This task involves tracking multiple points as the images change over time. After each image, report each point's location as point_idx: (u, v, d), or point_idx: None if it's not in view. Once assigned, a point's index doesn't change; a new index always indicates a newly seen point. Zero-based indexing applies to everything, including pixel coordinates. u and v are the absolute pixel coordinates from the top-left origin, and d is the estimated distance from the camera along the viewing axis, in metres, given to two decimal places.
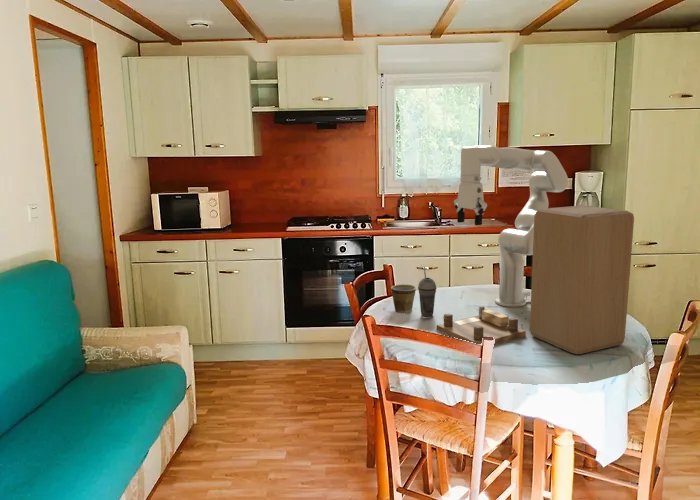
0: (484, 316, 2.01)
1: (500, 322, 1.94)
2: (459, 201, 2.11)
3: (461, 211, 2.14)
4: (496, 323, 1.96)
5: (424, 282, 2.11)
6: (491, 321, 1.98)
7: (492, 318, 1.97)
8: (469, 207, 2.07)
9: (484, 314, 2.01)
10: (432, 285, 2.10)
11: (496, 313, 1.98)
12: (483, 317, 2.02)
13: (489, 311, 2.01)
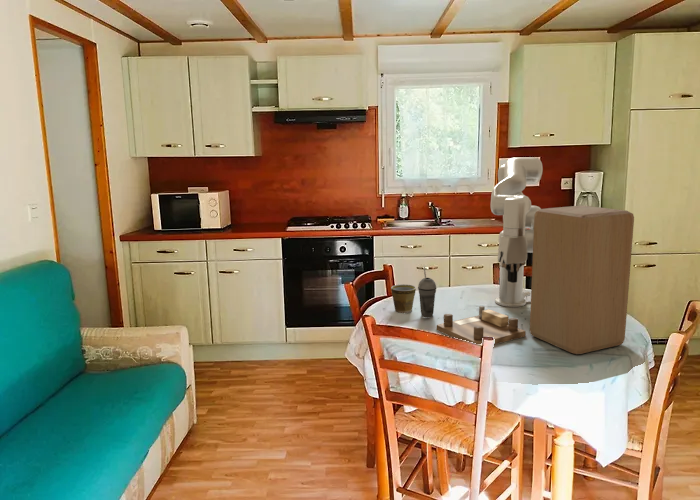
0: (484, 316, 2.01)
1: (500, 322, 1.94)
2: (509, 257, 1.93)
3: None
4: (496, 323, 1.96)
5: (424, 282, 2.11)
6: (491, 321, 1.98)
7: (492, 318, 1.97)
8: (521, 261, 1.95)
9: (484, 314, 2.01)
10: (432, 285, 2.10)
11: (496, 313, 1.98)
12: (483, 317, 2.02)
13: (489, 311, 2.01)
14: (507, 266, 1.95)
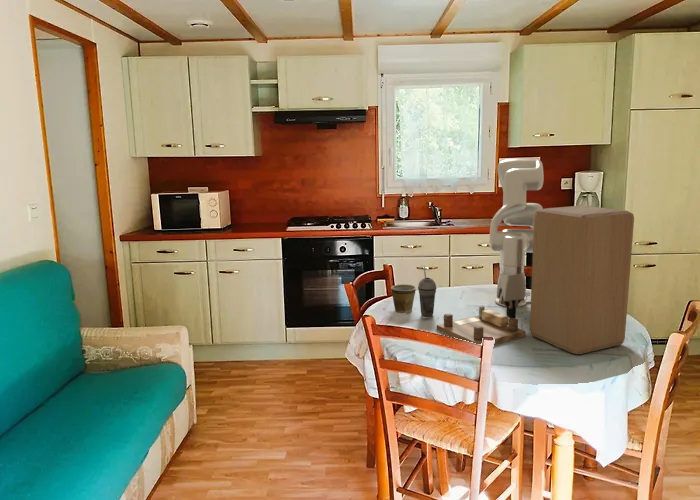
0: (484, 316, 2.01)
1: (500, 322, 1.94)
2: (508, 294, 1.95)
3: None
4: (496, 323, 1.96)
5: (424, 282, 2.11)
6: (491, 321, 1.98)
7: (492, 318, 1.97)
8: (519, 297, 1.98)
9: (484, 314, 2.01)
10: (432, 285, 2.10)
11: (496, 313, 1.98)
12: (483, 317, 2.02)
13: (489, 311, 2.01)
14: (506, 303, 1.97)
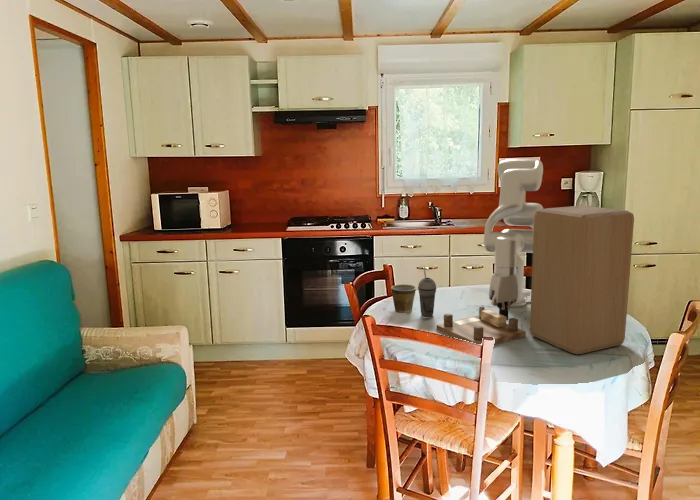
0: (483, 316, 2.01)
1: (497, 322, 1.94)
2: (500, 296, 1.94)
3: None
4: (494, 323, 1.96)
5: (424, 282, 2.11)
6: (489, 321, 1.98)
7: (490, 318, 1.97)
8: (512, 299, 1.96)
9: (483, 314, 2.01)
10: (432, 285, 2.10)
11: (495, 313, 1.98)
12: (482, 317, 2.02)
13: (488, 311, 2.01)
14: (498, 304, 1.96)
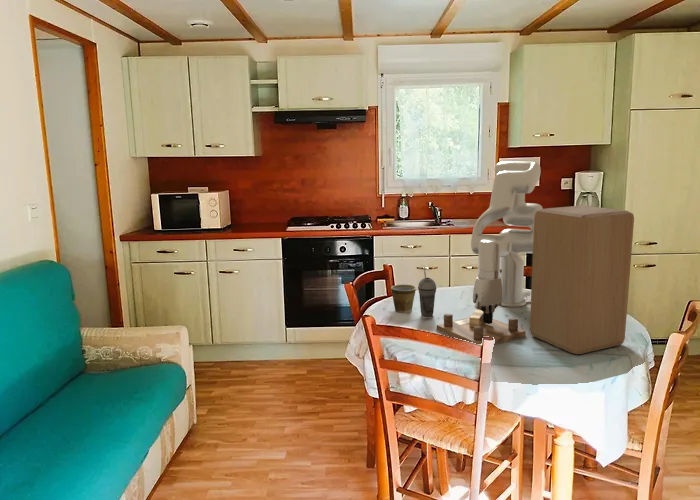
0: None
1: None
2: (483, 300, 1.92)
3: None
4: None
5: (424, 282, 2.11)
6: None
7: None
8: (496, 302, 1.94)
9: None
10: (432, 285, 2.10)
11: (478, 314, 1.98)
12: None
13: (479, 311, 2.01)
14: (482, 308, 1.94)
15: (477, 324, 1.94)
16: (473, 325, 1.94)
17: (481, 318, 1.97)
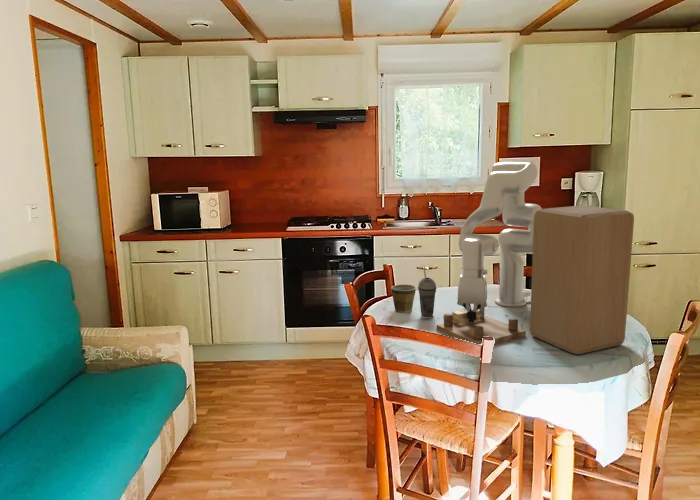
0: None
1: None
2: (461, 296, 1.96)
3: (471, 309, 1.98)
4: None
5: (424, 282, 2.11)
6: None
7: None
8: (477, 302, 1.95)
9: None
10: (432, 285, 2.10)
11: (466, 311, 2.01)
12: None
13: None
14: (463, 304, 1.98)
15: (456, 320, 1.99)
16: (454, 320, 2.01)
17: (466, 316, 2.00)
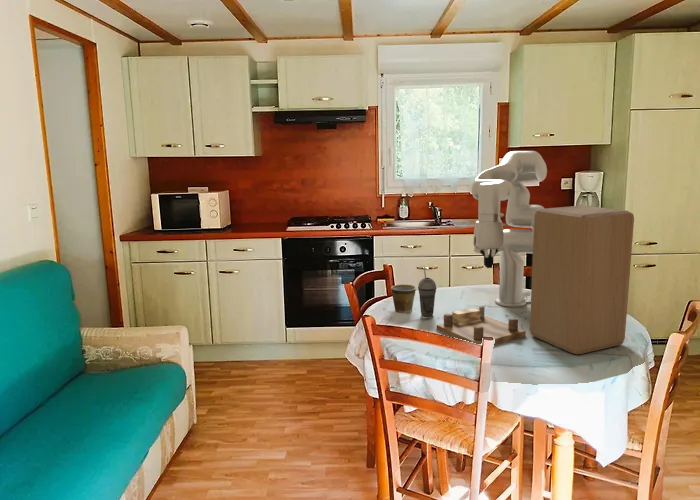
0: None
1: None
2: (481, 243, 1.93)
3: None
4: None
5: (424, 282, 2.11)
6: None
7: None
8: (496, 247, 1.94)
9: None
10: (432, 285, 2.10)
11: (466, 311, 2.01)
12: None
13: (472, 310, 2.03)
14: (481, 251, 1.95)
15: (456, 320, 1.99)
16: (454, 320, 2.01)
17: (466, 316, 2.00)
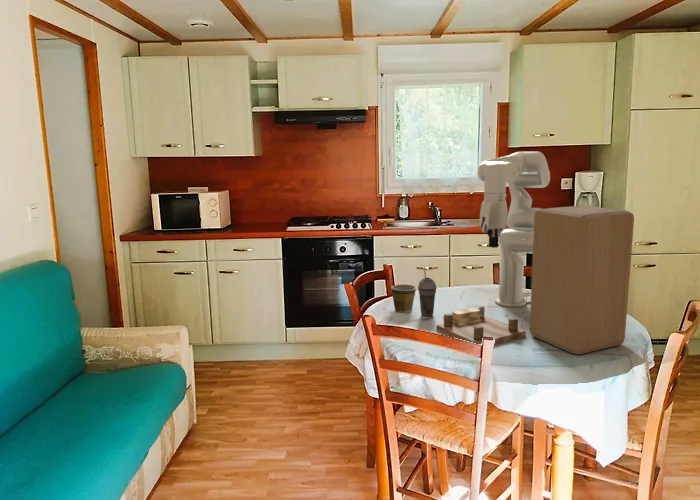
0: None
1: None
2: (491, 222, 1.95)
3: None
4: None
5: (424, 282, 2.11)
6: None
7: None
8: (502, 226, 1.99)
9: None
10: (432, 285, 2.10)
11: (466, 311, 2.01)
12: None
13: (472, 310, 2.03)
14: (489, 231, 1.98)
15: (456, 320, 1.99)
16: (454, 320, 2.01)
17: (466, 316, 2.00)
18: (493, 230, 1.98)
